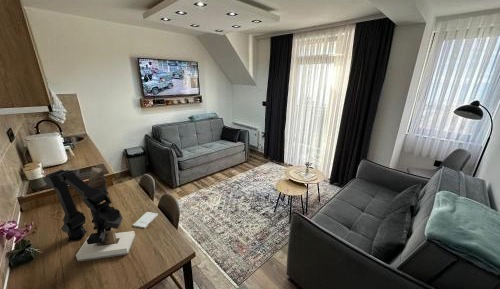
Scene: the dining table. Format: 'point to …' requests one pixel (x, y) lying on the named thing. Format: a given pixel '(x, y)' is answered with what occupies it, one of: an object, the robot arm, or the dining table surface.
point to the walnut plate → (109, 238)
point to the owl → (98, 179)
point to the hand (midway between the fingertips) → (106, 240)
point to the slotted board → (107, 248)
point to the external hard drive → (145, 220)
